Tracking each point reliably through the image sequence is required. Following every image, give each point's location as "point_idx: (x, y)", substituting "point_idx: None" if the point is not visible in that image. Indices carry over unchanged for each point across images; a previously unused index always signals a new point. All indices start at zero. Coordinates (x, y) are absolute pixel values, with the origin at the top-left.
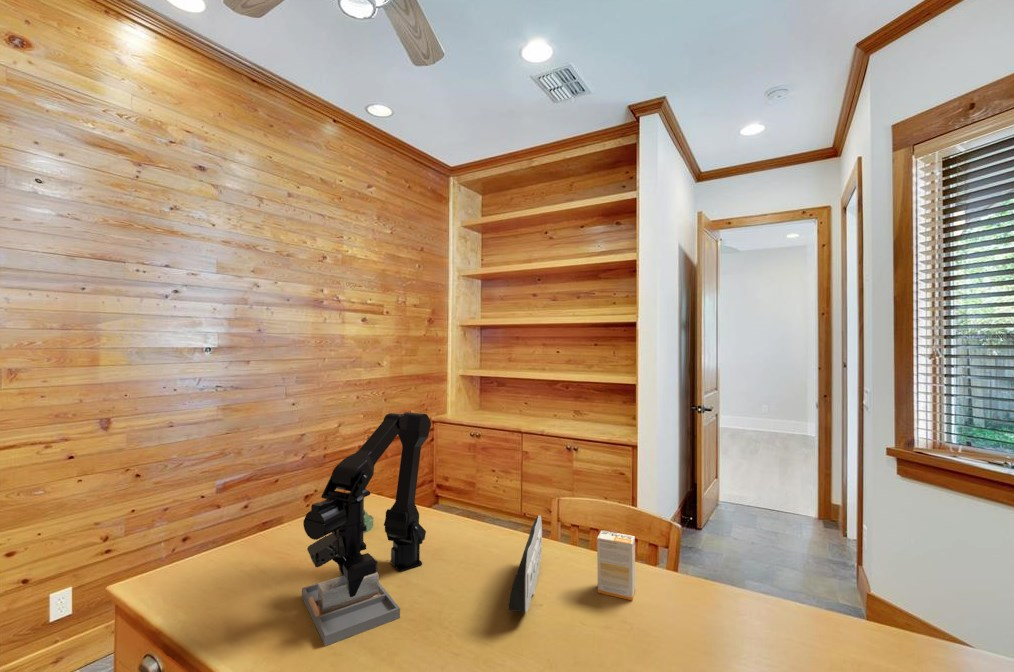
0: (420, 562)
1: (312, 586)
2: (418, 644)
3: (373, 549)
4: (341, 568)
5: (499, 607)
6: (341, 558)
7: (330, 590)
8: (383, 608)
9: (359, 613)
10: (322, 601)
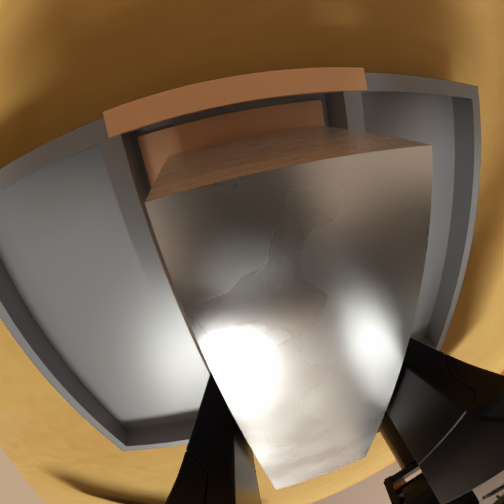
0: None
1: (472, 133)
2: (21, 422)
3: (495, 321)
4: (445, 403)
5: (141, 498)
6: (497, 459)
7: (184, 302)
8: (167, 410)
9: (151, 344)
10: (163, 169)
